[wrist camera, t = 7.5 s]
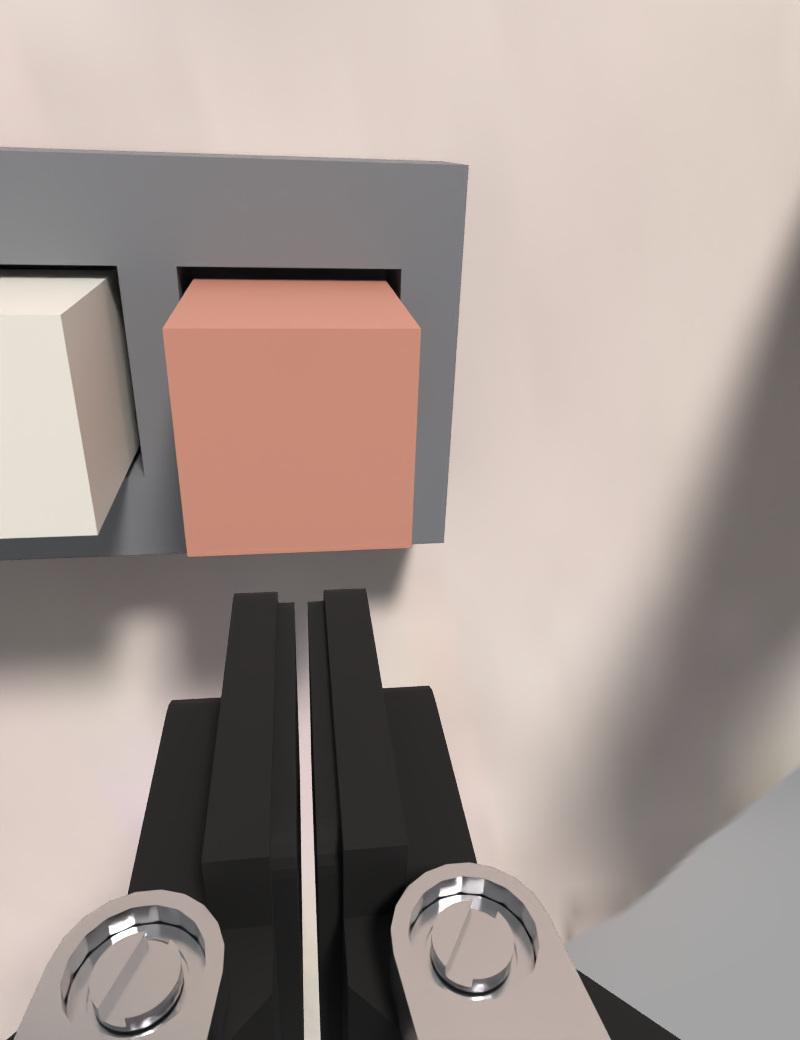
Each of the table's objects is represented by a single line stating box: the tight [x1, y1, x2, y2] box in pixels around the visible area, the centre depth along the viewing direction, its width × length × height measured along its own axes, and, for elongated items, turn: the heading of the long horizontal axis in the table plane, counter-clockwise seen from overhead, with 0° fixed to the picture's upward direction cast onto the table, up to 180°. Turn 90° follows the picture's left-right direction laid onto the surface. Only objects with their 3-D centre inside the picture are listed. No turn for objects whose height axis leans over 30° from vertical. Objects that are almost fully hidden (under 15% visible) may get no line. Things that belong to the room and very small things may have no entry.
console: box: [0, 147, 469, 560], centre depth 24 cm, size 26×12×4 cm, turn 89°
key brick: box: [162, 278, 421, 557], centre depth 20 cm, size 6×6×6 cm
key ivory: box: [0, 269, 140, 539], centre depth 21 cm, size 6×6×6 cm
